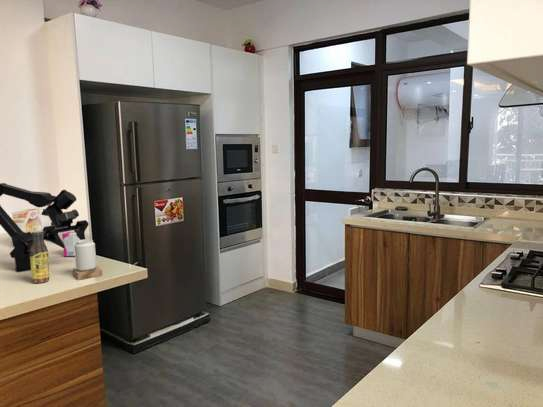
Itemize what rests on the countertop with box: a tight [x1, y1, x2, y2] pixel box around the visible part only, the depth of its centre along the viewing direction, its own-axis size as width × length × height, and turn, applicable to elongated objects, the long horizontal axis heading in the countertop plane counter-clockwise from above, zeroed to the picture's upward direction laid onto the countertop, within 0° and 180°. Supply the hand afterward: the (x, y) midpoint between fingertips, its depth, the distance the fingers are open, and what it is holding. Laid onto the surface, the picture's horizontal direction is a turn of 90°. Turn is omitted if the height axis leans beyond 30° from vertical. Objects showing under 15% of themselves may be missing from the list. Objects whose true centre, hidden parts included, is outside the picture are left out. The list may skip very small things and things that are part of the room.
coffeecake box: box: [11, 208, 43, 233], centre depth 230 cm, size 15×7×20 cm, turn 179°
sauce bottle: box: [30, 231, 50, 284], centre depth 163 cm, size 6×6×20 cm
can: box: [74, 238, 98, 271], centre depth 170 cm, size 8×8×12 cm
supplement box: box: [61, 231, 80, 258], centre depth 205 cm, size 6×6×12 cm
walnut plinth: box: [72, 265, 103, 281], centre depth 171 cm, size 9×9×2 cm
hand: (74, 245), depth 173 cm, fingers open, 9 cm apart
